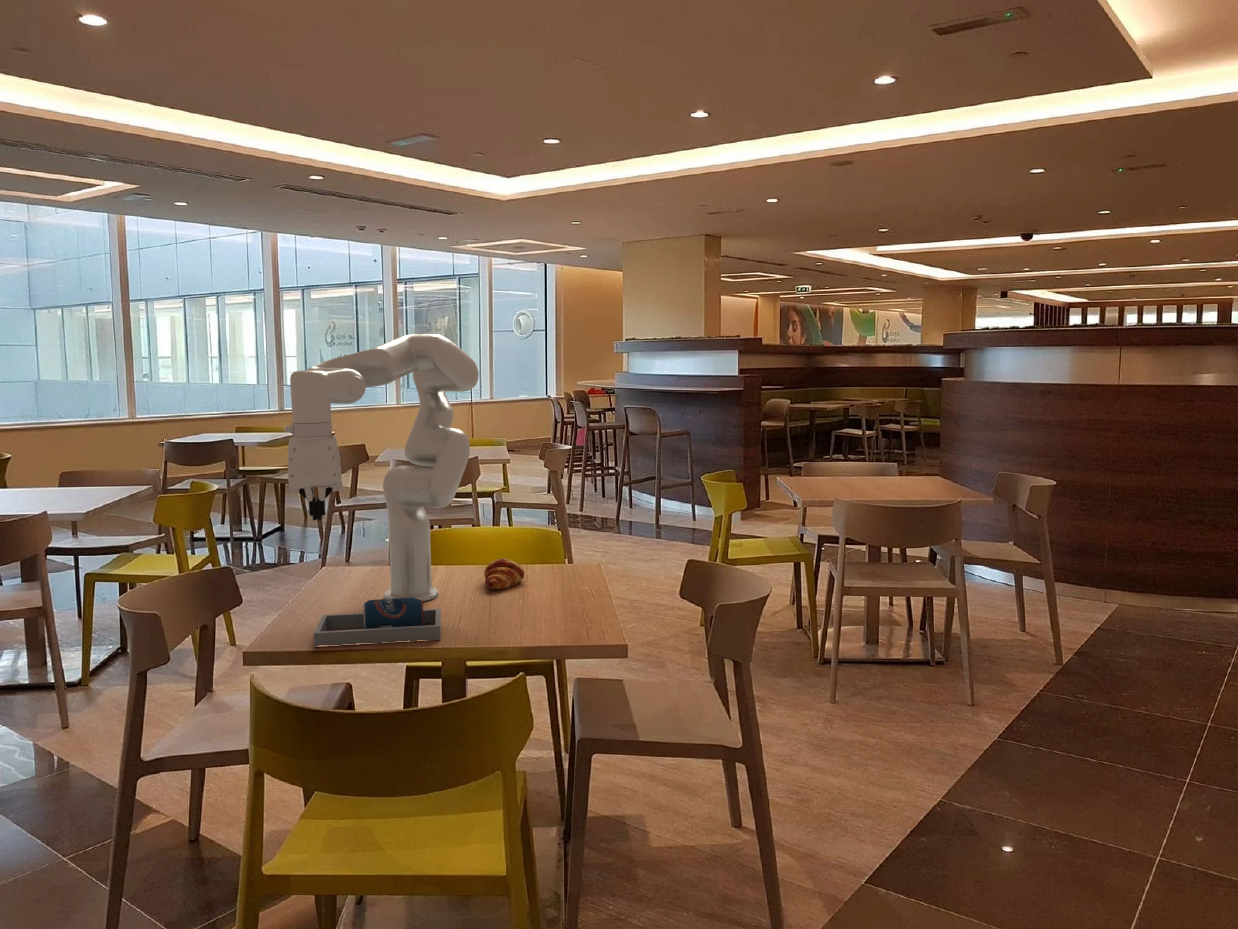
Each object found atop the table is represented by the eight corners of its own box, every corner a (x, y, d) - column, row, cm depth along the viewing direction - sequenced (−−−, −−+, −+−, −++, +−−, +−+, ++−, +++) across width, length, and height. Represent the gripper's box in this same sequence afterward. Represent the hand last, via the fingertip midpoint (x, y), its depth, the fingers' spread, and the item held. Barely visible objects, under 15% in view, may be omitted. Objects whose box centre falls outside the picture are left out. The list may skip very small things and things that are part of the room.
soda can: (362, 593, 185) (421, 589, 189) (364, 614, 190) (421, 610, 193) (363, 620, 181) (423, 616, 184) (364, 641, 185) (423, 636, 188)
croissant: (505, 585, 239) (491, 559, 239) (537, 569, 237) (524, 542, 237) (481, 605, 218) (466, 576, 218) (516, 587, 216) (501, 558, 216)
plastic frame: (323, 628, 189) (322, 614, 189) (440, 622, 194) (440, 608, 193) (314, 648, 176) (313, 633, 176) (440, 640, 181) (440, 626, 181)
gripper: (270, 434, 177) (276, 524, 180) (349, 431, 180) (353, 520, 183) (277, 430, 184) (282, 517, 187) (352, 428, 187) (356, 514, 190)
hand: (317, 518), depth 185 cm, fingers closed
